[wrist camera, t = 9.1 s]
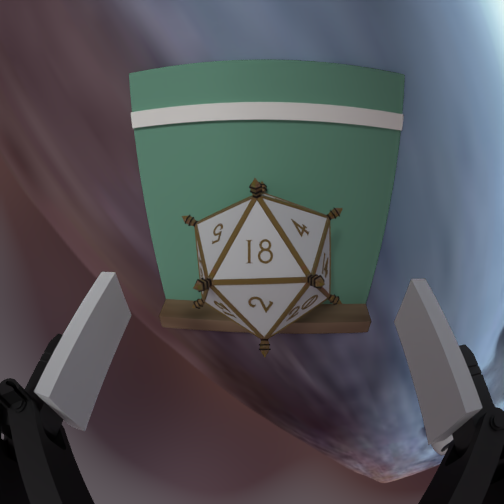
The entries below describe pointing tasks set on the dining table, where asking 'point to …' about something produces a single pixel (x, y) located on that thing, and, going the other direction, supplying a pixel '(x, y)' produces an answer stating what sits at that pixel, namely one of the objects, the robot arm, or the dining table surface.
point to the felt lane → (268, 154)
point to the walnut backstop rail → (313, 322)
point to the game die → (264, 262)
